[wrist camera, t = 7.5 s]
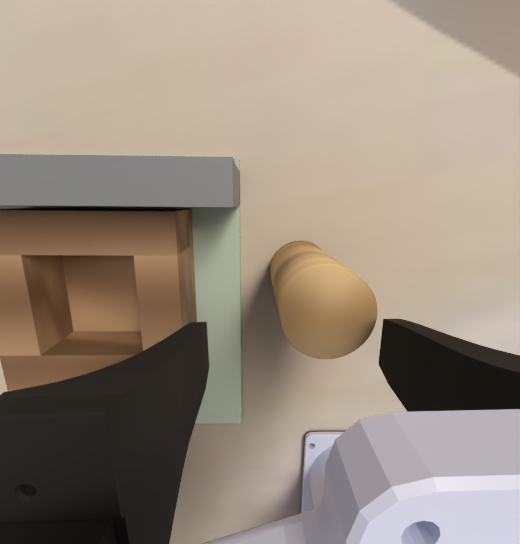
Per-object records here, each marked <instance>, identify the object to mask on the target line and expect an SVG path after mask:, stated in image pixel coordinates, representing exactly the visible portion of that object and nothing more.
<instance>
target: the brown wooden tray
mask: <svg viewBox="0 0 520 544" xmlns="http://www.w3.org/2000/svg"><path fill="white" fill-rule="evenodd" d="M191 322H197V313H196V292H195V271H194V251H193V230H192V209H111V208H9V209H0V359H1V364H2V368H3V372H4V376H5V381H6V385H7V389H8V391H14V390H19V389H24V388H29V387H34V386H39V385H44V384H49V383H54V382H58V381H62V380H66V379H69V378H73V377H77V376H80V375H84V374H87V373H90V372H93V371H96V370H99V369H102V368H104V367H107V366H110V365H113V364H116V363H118V362H121V361H123V360H125V359H127V358H130V357H132V356H134V355H136V354H138V353H140V352H142V351H144V350H146V349H148V348H149V347H151V346H153V345H155V344H156V343H158V342H160V341H162V340H163V339H165V338H167V337H168V336H170V335H171V334H173V333H174V332H176V331H177V330H179V329H180V328H182V327H184V326H185V325H187V324H189V323H191Z"/></svg>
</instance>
